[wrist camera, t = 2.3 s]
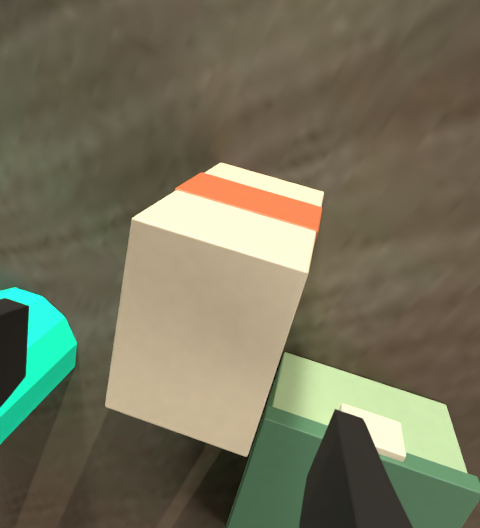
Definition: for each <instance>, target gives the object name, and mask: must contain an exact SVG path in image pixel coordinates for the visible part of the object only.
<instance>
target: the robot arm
mask: <svg viewBox="0 0 480 528" xmlns="http://www.w3.org/2000/svg"><path fill="white" fill-rule="evenodd" d="M28 322H29V306H28V305H25V304H22V303H19V302H16V301H14V300H11V299H8V298H2V299H0V408H1V406H2V405H3V404H4V403H5V402H6V400H7V399H8V398H9V397H10V396H11V394H12V393H13V392H14V391H15V389H16V388H17V387H18V386H19V384H20V383H21V382H22V381H23V379H24V378H25V377H26V364H27V343H28ZM299 528H413V527H412V525H411V523H410V521H409V519H408V517H407V514H406V512H405V510H404V508H403V506H402V504H401V502H400V500H399V498H398V496H397V494H396V492H395V490H394V487H393V485H392V483H391V481H390V479H389V477H388V474H387V472H386V470H385V467H384V465H383V463H382V461H381V458H380V456H379V454H378V451H377V449H376V447H375V444H374V442H373V439H372V437H371V435H370V432H369V430H368V428H367V425H366V423H365V421H364V419H363V418H360V417H357V416H355V415H352V414H349V413H346V412H343V411H340V410H337V409H335V410H334V412H333V415H332V417H331V420H330V422H329V424H328V427H327V429H326V431H325V434H324V436H323V439H322V441H321V443H320V446H319V448H318V451H317V453H316V455H315V458H314V460H313V463H312V465H311V467H310V470H309V472H308V475H307V478H306V484H305V490H304V496H303V502H302V509H301V516H300V522H299Z"/></svg>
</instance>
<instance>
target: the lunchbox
mask: <svg viewBox="0 0 480 528" xmlns="http://www.w3.org/2000/svg"><path fill="white" fill-rule="evenodd" d="M335 409H337V410H340V411H343V412H346V413H349V414H352V415H355V416H357V417H360V418H363V419H364V421H365V423H366V425H367V428H368V430H369V432H370V435H371V437H372V439H373V442H374V444H375V447H376V449H377V451H378V454H379V456H380V458H381V461H382V463H383V465H384V467H385V470H386V472H387V474H388V477H389V479H390V481H391V483H392V485H393V487H394V490H395V492H396V494H397V496H398V498H399V500H400V502H401V504H402V506H403V508H404V510H405V512H406V514H407V517H408V519H409V521H410V523H411V525H412V527H413V528H461V527H462V526H463V524H464V523H465V521H466V520H467V518H468V517H469V515H470V514H471V512H472V511H473V509H474V508H475V506H476V504H477V503H478V501H479V500H480V483H479V480H478V477H476V476H474V475H471V474H468V473H467V470H466V467H465V464H464V461H463V457H462V454H461V451H460V448H459V445H458V442H457V438H456V435H455V432H454V429H453V426H452V423H451V419H450V416H449V413H448V410H447V407H446V405H445V404H442V403H439V402H436V401H433V400H430V399H427V398H424V397H421V396H418V395H415V394H412V393H409V392H406V391H403V390H399V389H396V388H393V387H390V386H387V385H384V384H381V383H378V382H375V381H372V380H369V379H366V378H363V377H360V376H357V375H354V374H351V373H348V372H345V371H342V370H338V369H335V368H332V367H329V366H326V365H323V364H320V363H317V362H314V361H311V360H308V359H305V358H302V357H299V356H296V355H293V354H290V353H287V352H285V353H284V354H283V357H282V360H281V363H280V366H279V369H278V372H277V375H276V378H275V381H274V384H273V387H272V390H271V393H270V396H269V399H268V402H267V405H266V408H265V411H264V414H263V417H262V420H261V423H260V426H259V429H258V432H257V435H256V438H255V441H254V444H253V447H252V450H251V453H250V456H249V459H248V462H247V465H246V468H245V471H244V474H243V477H242V480H241V483H240V486H239V488H238V491H237V494H236V497H235V500H234V503H233V506H232V509H231V512H230V515H229V518H228V521H227V524H226V528H299V522H300V516H301V509H302V502H303V496H304V490H305V484H306V478H307V475H308V472H309V470H310V467H311V465H312V463H313V460H314V458H315V455H316V453H317V451H318V448H319V446H320V443H321V441H322V439H323V436H324V434H325V431H326V429H327V427H328V424H329V422H330V420H331V417H332V415H333V412H334V410H335Z"/></svg>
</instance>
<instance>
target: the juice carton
mask: <svg viewBox="0 0 480 528" xmlns="http://www.w3.org/2000/svg"><path fill="white" fill-rule="evenodd" d="M323 196H324V192H322V191H319V190H315V189H312V188H308V187H305V186H301V185H298V184H294V183H291V182H287V181H284V180H280V179H277V178H273V177H270V176H266V175H263V174H259V173H256V172H252V171H249V170H245V169H242V168H238V167H235V166H232V165H228V164H225V163H219V164H218V165H216V166H214V167H213V168H211V169H210V170H208V171H206V172H205V173H203V172H202V173H199V174H198V175H196V176H195V177H193V178H191V179H190V180H188V181H186V182H185V183H183V184H181V185H180V186H178V187H176V188H175V190H174V192H173V193H171V194H170V195H168V196H166V197H165V198H163V199H161V200H160V201H158V202H157V203H155V204H153V205H152V206H150V207H149V208H147V209H145V210H144V211H142V212H141V213H139V214H137V215H136V216H134V217H133V218H132V220H131V227H130V234H129V241H128V248H127V255H126V262H125V269H124V276H123V283H122V290H121V297H120V304H119V311H118V318H117V325H116V332H115V339H114V346H113V353H112V360H111V367H110V374H109V381H108V388H107V395H106V402H105V407H107V408H110V409H113V410H115V411H118V412H121V413H124V414H127V415H129V416H132V417H135V418H138V419H141V420H143V421H146V422H149V423H152V424H155V425H158V426H160V427H163V428H166V429H169V430H172V431H174V432H177V433H180V434H183V435H186V436H188V437H191V438H194V439H197V440H200V441H202V442H205V443H208V444H211V445H214V446H216V447H219V448H222V449H225V450H228V451H230V452H233V453H236V454H239V455H242V456H244V457H247V456H248V454H249V451H250V448H251V445H252V442H253V439H254V436H255V433H256V430H257V427H258V424H259V421H260V418H261V415H262V412H263V409H264V406H265V403H266V400H267V397H268V394H269V391H270V388H271V385H272V382H273V379H274V376H275V373H276V370H277V367H278V364H279V361H280V358H281V355H282V352H283V349H284V346H285V343H286V340H287V337H288V334H289V331H290V328H291V325H292V322H293V319H294V316H295V313H296V310H297V307H298V304H299V301H300V298H301V295H302V291H303V288H304V285H305V282H306V279H307V276H308V273H309V268H310V263H311V258H312V253H313V248H314V244H315V241H316V238H317V235H318V232H319V226H320V220H321V215H322V207H321V206H322V201H323Z"/></svg>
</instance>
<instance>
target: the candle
mask: <svg viewBox="0 0 480 528" xmlns="http://www.w3.org/2000/svg"><path fill="white" fill-rule="evenodd" d="M2 298H8V299H11V300H14V301H16V302H19V303H22V304H25V305H28V306H29V322H28V343H27V364H26V377H25V378H24V379H23V381H22V382H21V383H20V384H19V386H18V387H17V388H16V389H15V391H14V392H13V393H12V394H11V396H10V397H9V398H8V399H7V400H6V402H5V403H4V404H3V405H2V406H1V408H0V444H1V443H2V442H3V441H4V440H5V439H6V438H7V437H8V436H9V435H10V434H11V433H12V432H13V431H14V430H15V429H16V428H17V426H18V425H19V424H20V423H21V422H22V421H23V420H24V419H25V418H26V417H27V416H28V415H29V414H30V413H31V412H32V411H33V410H34V409H35V408H36V407H37V406H38V405H39V404H40V403H41V402H42V400H43V399H44V398H45V397H46V396H47V395H48V394H49V393H50V392H51V391H52V390H53V389H54V388H55V387H56V386H57V385H58V384H59V383H60V382H61V381H62V380H63V379H64V378H65V377H66V376H67V374H68V373H69V372H70V371H71V370H72V369H73V368H74V367H75V360H76V350H77V342H76V340H75V337H74V335H73V333H72V331H71V329H70V326H69V324H68V322H67V320H66V317H65V316H63V315H62V314H61V313H60V312H59V311H58V310H57V309H56V308H55V307H54V306H52V305H51V304H50V303H49V302H48V301H47V300H46V299H45V298H44V297H43V296H40V295H37V294H34V293H31V292H28V291H25V290H21V289H18V288H15V287H14V288H10V289H6V290H1V291H0V299H2Z"/></svg>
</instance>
